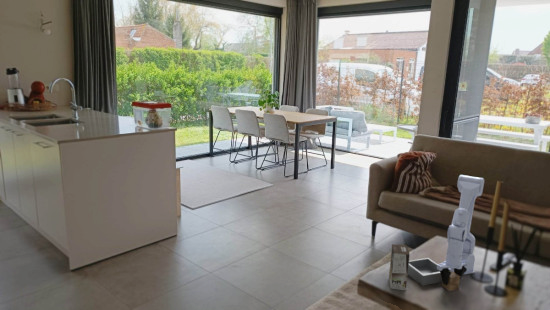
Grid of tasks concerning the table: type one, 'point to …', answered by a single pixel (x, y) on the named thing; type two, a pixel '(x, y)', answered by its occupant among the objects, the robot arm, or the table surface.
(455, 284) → the tan block
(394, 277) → the coffee box
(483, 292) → the table surface
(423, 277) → the gray bin
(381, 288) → the table surface
